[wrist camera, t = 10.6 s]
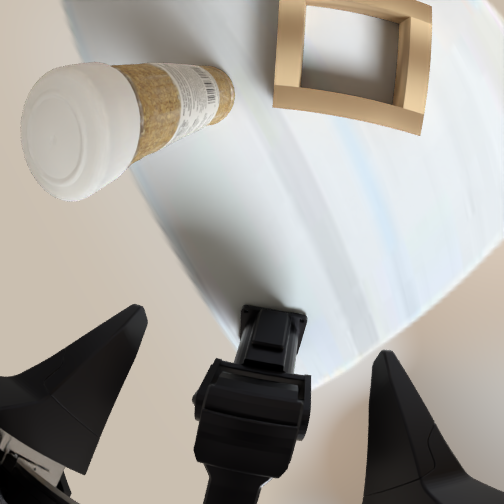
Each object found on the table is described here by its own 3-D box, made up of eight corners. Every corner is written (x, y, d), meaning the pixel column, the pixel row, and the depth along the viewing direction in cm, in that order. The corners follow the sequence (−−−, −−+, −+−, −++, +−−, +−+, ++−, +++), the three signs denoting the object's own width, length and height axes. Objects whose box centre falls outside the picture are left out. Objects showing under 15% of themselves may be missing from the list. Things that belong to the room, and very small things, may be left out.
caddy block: (407, 129, 15) (420, 135, 13) (277, 104, 16) (272, 107, 14) (418, 13, 10) (431, 6, 8) (284, -13, 11) (280, -26, 9)
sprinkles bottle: (171, 74, 16) (7, 101, 5) (232, 60, 15) (86, 39, 4) (182, 131, 19) (38, 213, 8) (242, 121, 18) (122, 197, 7)
